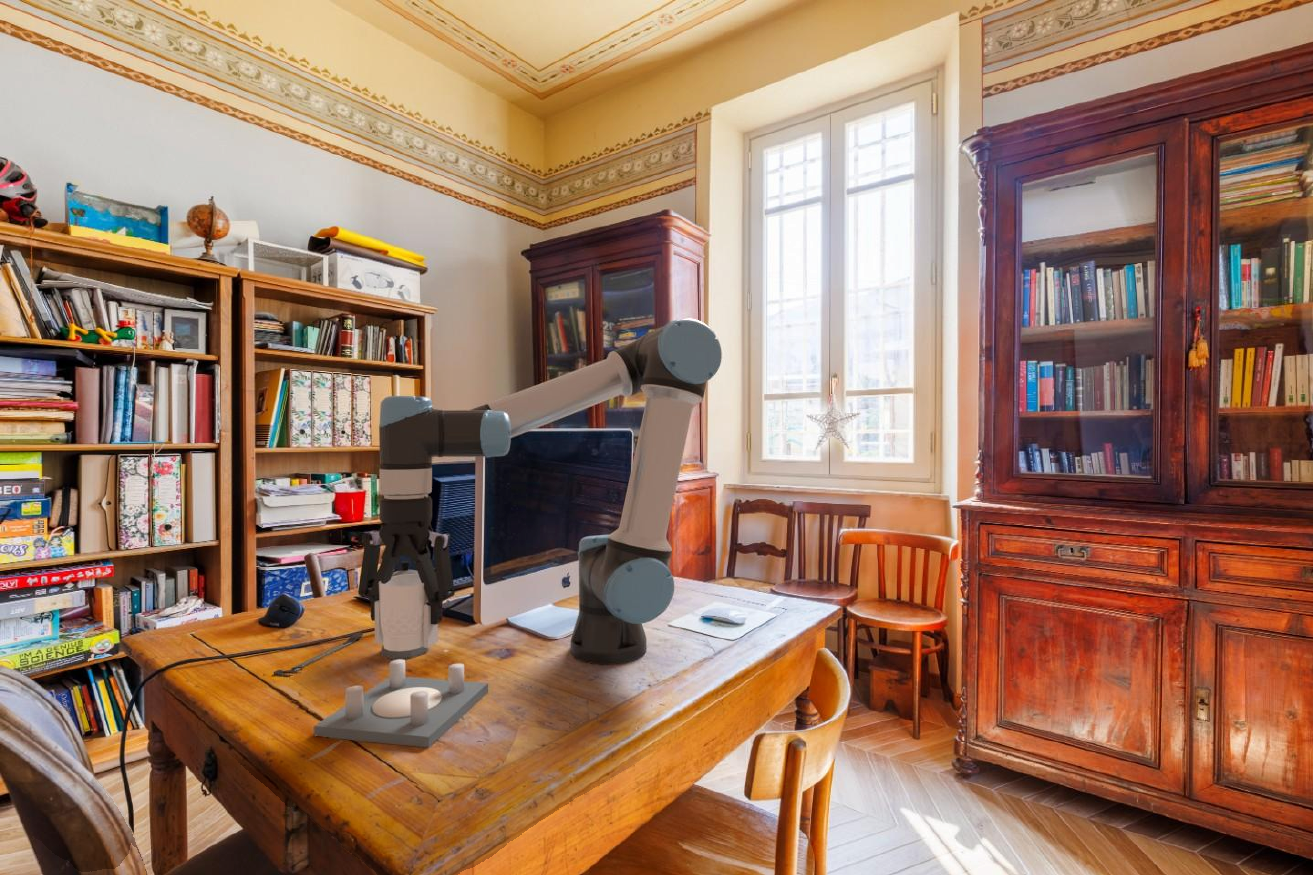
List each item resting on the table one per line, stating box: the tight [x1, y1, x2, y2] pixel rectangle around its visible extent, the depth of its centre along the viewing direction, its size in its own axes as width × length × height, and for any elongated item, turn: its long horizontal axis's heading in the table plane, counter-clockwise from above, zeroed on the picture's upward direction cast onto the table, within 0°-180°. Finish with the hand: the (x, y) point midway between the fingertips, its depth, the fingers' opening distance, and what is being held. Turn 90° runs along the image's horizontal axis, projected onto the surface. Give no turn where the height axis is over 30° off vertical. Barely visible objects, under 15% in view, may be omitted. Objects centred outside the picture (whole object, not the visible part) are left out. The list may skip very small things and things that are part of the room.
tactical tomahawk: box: [273, 632, 364, 679], centre depth 117 cm, size 21×7×1 cm, turn 166°
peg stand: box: [313, 659, 489, 748], centre depth 93 cm, size 18×18×6 cm
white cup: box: [379, 574, 429, 651], centre depth 93 cm, size 8×8×10 cm
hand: (406, 642), depth 93 cm, fingers closed on white cup, 8 cm apart
